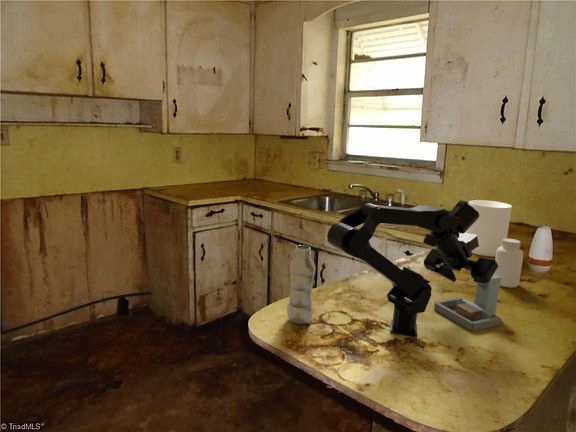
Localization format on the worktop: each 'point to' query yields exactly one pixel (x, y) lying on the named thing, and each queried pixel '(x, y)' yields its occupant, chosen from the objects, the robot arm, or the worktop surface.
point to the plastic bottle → (301, 286)
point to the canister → (490, 225)
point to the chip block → (468, 311)
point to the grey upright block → (487, 298)
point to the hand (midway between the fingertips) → (470, 284)
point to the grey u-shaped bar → (476, 325)
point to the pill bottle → (509, 262)
